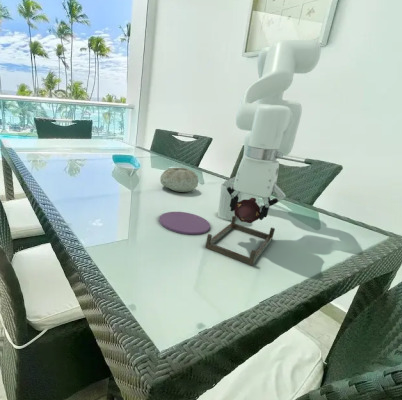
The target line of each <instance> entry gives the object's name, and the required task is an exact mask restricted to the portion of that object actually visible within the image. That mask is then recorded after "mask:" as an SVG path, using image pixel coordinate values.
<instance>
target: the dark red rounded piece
mask: <svg viewBox="0 0 402 400" xmlns="http://www.w3.org/2000/svg"><path fill="white" fill-rule="evenodd" d="M234 212H235V216H236V219H238V220H239V221H240V222H241V223H247V224H252V223H254V222H256V221H258V220H260V219H259V217H260V213H261V207H259V206H258V205H257V203H256V198H250V199H249V200H242V201H240V202H237V203H236V205H235V206H234Z"/></svg>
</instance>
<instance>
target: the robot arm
mask: <svg viewBox="0 0 402 400" xmlns="http://www.w3.org/2000/svg"><path fill="white" fill-rule="evenodd" d="M321 48H322V47H321V43H320V42H319V41H318V40H316V39H283V40H279V41H276V42H275V43H273V44H271V45H269V46H266V47H263V48H262V49H261V50H260V51H259V53H258V56H257V74H258V79H256V80H255V81H254V82H252V84H250V85H249V86H248V87H247V88H246V89H245V90H244V92H243V93H242V94H241V98H240V100H239V104H238V108H237V111H236V115H235V125H236V127H237V128H238V129H240V130H242V131H247V132H246V133H245V136H244V142H243V143H244V144H243V154H242V155H243V156H242V158H241V160H240V163H239V165H238V168H237V171H236V174H235V176H233V177H232V178H229V179H227V180H224V182H223V183H224V184H225V186H226V188H227V191H228V192H229V194H230V197H231V202H230V207H231V210H230V211H234V206H235V205H236V203H237V202H238V199H239V197H238V194H239V193H240V192H242V193H243V195H242V197H241V201H242V200H249V199H250V198H256V203H257V205H258V206H259V207H260V212H261V213H260V217H259V219H258V220H260V221H262V220H264V218H267V217H268V214H269V210H270V207H271V206H274V205H276V204H278V203H279V202H281V201H282V200H283V199H285V198H286V197H287V196H286V194H285V192H284V191H283V190H282V189H281V188H280V187H279V186H278V184H277V182H278V176H279V169H280V161H279V160H277V159H283V158H284V157H286V156H288V155H289V154H291V152H292V150H293V148H294V144H295V140H296V136H297V134H298V130H299V125H300V122H301V119H302V118H301V117H302V113H303V112H302V111H303V108H302V104H301V102H299V101H297V100H287V99H286V100H285V99H283V97H284V93H285V91H287V90H288V89H289V88H290V87H291V85H292V84H293V80H294V74H300V75H301V74H308V73H311V72H312V71H313V70H314V69H315V68H316V67H317V65H318V63H319V60H320V58H321V53H322V49H321ZM231 183H233V184H234V189H235V190H234V189H233V187H232V186H231ZM274 193H275V194H276V195H277V196H276V197H275V198H271V196H272V195H274ZM260 198H261V199H262V202H263V205H262V202H260V203H258V201H259V199H260Z"/></svg>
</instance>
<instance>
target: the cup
mask: <svg viewBox="0 0 402 400" xmlns="http://www.w3.org/2000/svg"><path fill="white" fill-rule="evenodd" d="M231 186H232V187H233V189H234V182H233V183H231ZM234 190H235V189H234ZM242 195H243V193H242V192H240V193H239V194H238V197H239V199H238V202H240V201H241V197H242ZM230 202H231V197H230V194H229V192H228V191H227V188H226V186H225V184H224V182H222V183H221V185H220V194H219V202H218V212H217V217H218V218H220V219H222V220H226V221H232V217H233V216H235V212H234V211H230V210H231V207H230Z"/></svg>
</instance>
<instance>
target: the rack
mask: <svg viewBox="0 0 402 400" xmlns="http://www.w3.org/2000/svg"><path fill="white" fill-rule="evenodd" d="M236 220H237V217H236V216H233V217H232V220H230V221H231V222H230V223H229V224H228V225H227V226H226V227H224V228H223V229H221V230H220V231H219V232H218V233H217V234H215V235H214V236H213V235H212V234H211V233H208V234H207V236H206V241H205V249H209V250H211V251H213V252H216V253H218V254H220V255H223V256H226V257H228V258H231V259H233V260H236V261H238V262H241V263H243V264H247V265H248V266H251V267H252V266H254V264H255V263H256V261H257V260H258V259H259V258H260V256H261V255H262V254H263V252H264V251H265V249H266V248H267V247H268V246H269V244H270V243H271V241H273V238H274V234H275V230H276V228H275V227H270V229H269V232H268V233H266V232H264V231H261V230H257V229H253V228H250V227H248V226H245V225H241V224H238V223H236ZM233 229H235V230H237V231H241V232H242V233H243V232H244V233H246V234H249V235H251V236H252V235H253V236H255V237H259V238H262V239H264V241H263V242H262V243H261V244H260V246H259V247H258V248H257V249H251V251H250V254H249V257H248V256H246V255H244V254H241V253H238V252H236V251H234V250H231V249H229V248H225V247H223V246H220V245H217V244H216V243H217V242H218V241H220V240H221V239H222V238H223V237H224V236H226V235H227V234H228V233H229V232H230V231H232V230H233Z"/></svg>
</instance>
